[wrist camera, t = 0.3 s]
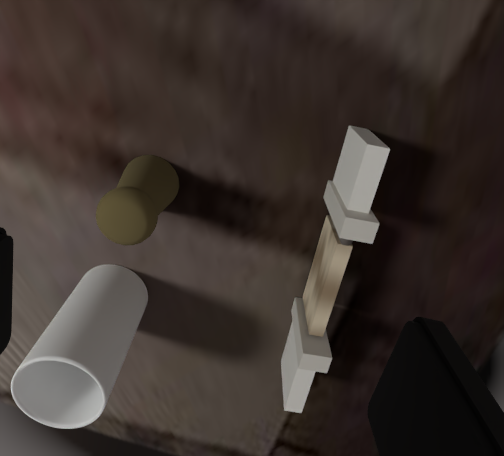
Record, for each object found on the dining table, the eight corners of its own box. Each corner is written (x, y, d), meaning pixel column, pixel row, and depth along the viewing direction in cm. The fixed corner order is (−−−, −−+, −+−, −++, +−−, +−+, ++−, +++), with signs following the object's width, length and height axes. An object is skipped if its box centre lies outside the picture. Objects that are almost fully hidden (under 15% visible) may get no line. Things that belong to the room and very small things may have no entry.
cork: (190, 193, 47) (171, 237, 37) (143, 217, 48) (113, 266, 38) (159, 144, 44) (130, 177, 34) (111, 171, 46) (70, 210, 36)
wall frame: (344, 124, 43) (367, 148, 34) (373, 130, 44) (403, 156, 34) (277, 360, 56) (280, 424, 47) (299, 364, 56) (307, 428, 47)
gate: (329, 205, 46) (340, 233, 40) (349, 209, 47) (364, 237, 40) (302, 296, 51) (309, 334, 45) (321, 300, 51) (330, 338, 45)
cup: (77, 261, 50) (4, 354, 36) (148, 267, 50) (103, 362, 36) (82, 318, 54) (16, 425, 39) (148, 324, 54) (107, 432, 39)
